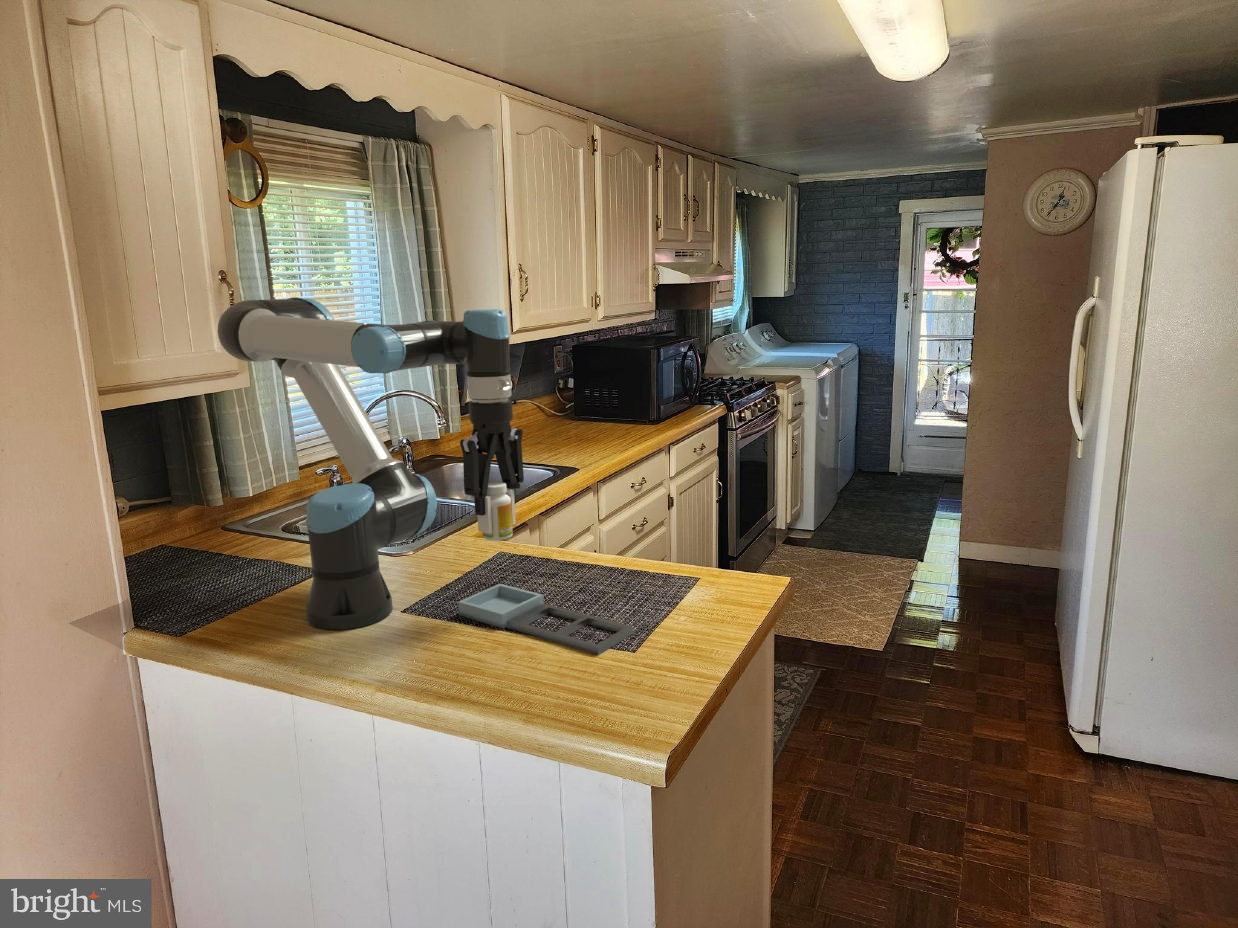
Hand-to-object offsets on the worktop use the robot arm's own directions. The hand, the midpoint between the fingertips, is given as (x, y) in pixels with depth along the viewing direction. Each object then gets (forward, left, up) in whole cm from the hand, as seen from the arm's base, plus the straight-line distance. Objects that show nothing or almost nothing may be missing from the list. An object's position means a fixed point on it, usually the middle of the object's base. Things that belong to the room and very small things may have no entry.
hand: (497, 527), depth 152 cm
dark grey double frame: (0, -16, -16) cm, 23 cm away
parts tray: (0, 0, -16) cm, 16 cm away
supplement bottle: (0, 0, -2) cm, 2 cm away
